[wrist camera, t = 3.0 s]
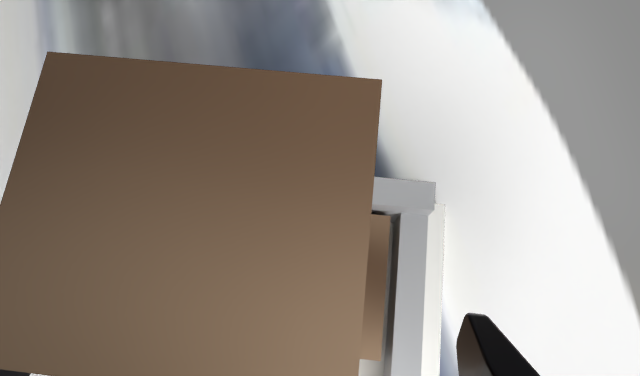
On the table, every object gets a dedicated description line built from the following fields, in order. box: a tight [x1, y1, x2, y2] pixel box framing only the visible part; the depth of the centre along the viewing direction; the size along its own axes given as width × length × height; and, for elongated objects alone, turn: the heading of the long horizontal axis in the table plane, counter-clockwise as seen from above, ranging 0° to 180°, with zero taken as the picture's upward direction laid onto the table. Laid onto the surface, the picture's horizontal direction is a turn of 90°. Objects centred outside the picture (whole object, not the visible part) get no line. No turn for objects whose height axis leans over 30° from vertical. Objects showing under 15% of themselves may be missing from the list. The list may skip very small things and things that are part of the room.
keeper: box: [0, 52, 391, 376], centre depth 11 cm, size 5×7×13 cm
